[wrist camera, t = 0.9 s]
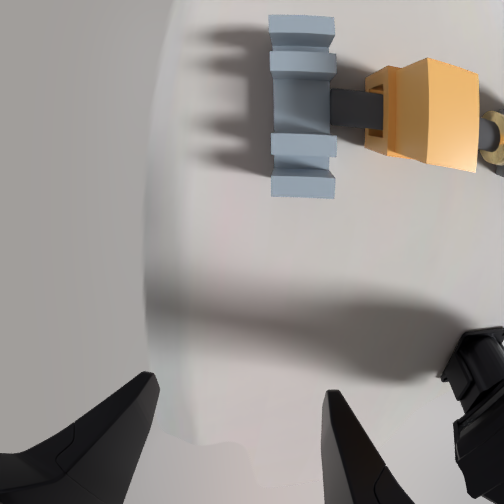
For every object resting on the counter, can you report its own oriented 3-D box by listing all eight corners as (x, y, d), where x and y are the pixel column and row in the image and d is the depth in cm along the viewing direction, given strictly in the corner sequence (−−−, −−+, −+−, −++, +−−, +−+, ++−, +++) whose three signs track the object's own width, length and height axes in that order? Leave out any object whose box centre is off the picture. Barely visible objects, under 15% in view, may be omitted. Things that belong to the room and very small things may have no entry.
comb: (324, 41, 14) (334, 17, 10) (324, 180, 17) (334, 198, 13) (274, 39, 14) (268, 14, 10) (275, 179, 18) (271, 196, 14)
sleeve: (412, 86, 14) (485, 72, 6) (411, 153, 15) (482, 179, 8) (365, 78, 14) (417, 50, 7) (364, 147, 16) (416, 167, 9)
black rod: (515, 132, 12) (532, 135, 10) (513, 159, 13) (530, 165, 11) (328, 90, 14) (334, 86, 12) (328, 125, 15) (334, 125, 13)
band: (486, 112, 13) (516, 115, 10) (483, 160, 14) (513, 170, 11) (478, 109, 13) (507, 111, 10) (475, 158, 14) (504, 168, 11)
